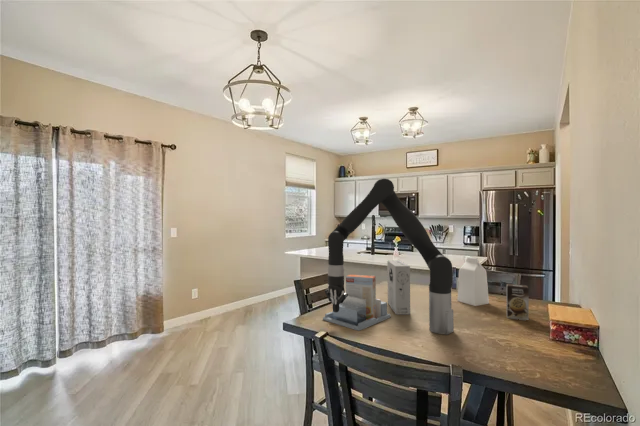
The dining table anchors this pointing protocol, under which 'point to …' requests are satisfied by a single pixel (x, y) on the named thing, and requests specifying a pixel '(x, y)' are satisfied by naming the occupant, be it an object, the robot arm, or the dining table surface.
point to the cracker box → (363, 291)
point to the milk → (472, 283)
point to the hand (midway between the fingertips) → (335, 311)
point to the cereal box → (398, 286)
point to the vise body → (380, 314)
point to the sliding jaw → (351, 311)
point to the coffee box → (517, 302)
